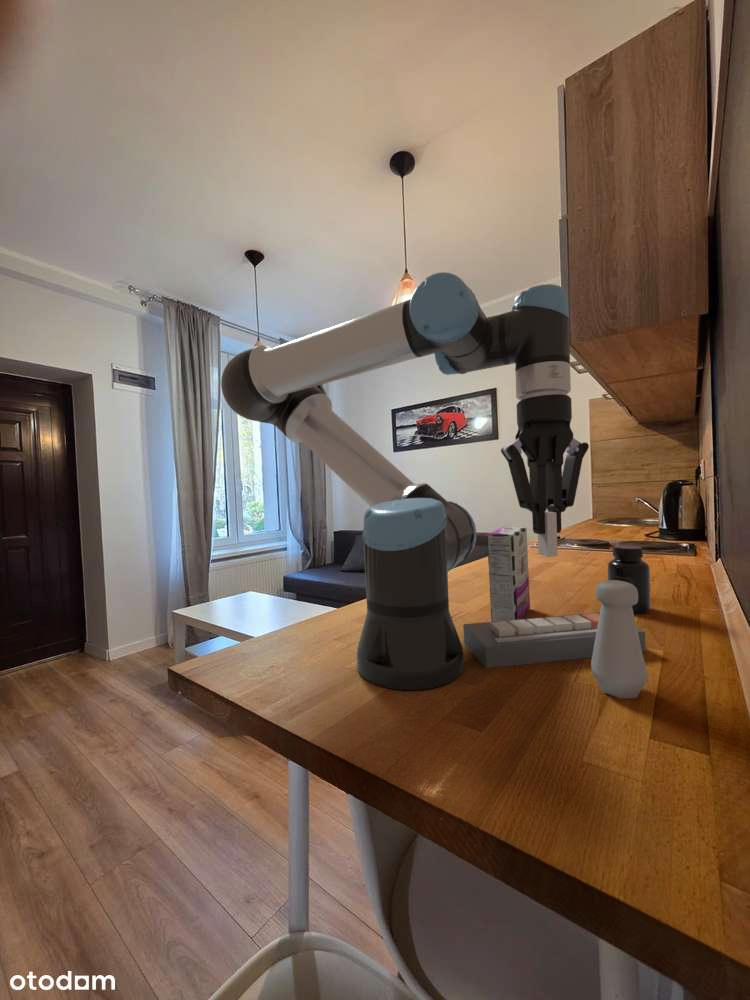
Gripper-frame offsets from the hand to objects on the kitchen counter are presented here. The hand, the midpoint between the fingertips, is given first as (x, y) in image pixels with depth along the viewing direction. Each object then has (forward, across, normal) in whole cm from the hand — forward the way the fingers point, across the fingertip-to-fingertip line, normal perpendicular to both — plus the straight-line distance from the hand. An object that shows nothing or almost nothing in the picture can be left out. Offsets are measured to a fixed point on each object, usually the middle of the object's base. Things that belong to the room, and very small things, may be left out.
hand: (547, 554), depth 59 cm
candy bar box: (+14, +1, +15) cm, 21 cm away
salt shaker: (+14, +1, -13) cm, 19 cm away
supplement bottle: (+14, +24, +13) cm, 31 cm away
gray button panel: (+14, 0, 0) cm, 14 cm away
